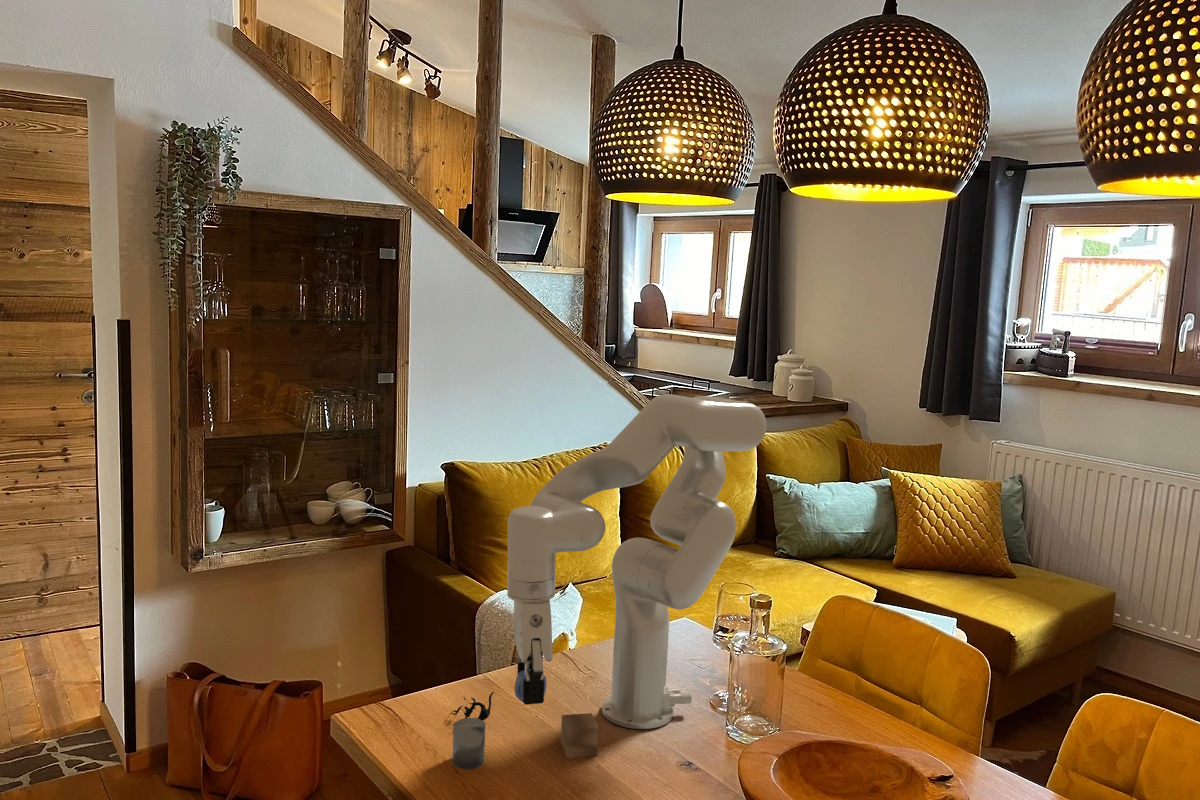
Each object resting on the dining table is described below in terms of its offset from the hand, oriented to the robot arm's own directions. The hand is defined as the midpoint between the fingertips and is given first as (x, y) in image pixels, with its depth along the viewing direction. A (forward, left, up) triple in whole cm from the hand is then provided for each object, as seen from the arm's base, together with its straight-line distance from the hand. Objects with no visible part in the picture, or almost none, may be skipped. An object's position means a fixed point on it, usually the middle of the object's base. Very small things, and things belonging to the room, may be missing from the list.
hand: (530, 693), depth 150 cm
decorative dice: (0, 0, -1) cm, 1 cm away
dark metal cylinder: (+10, +1, -10) cm, 14 cm away
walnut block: (-8, 0, -10) cm, 13 cm away
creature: (+9, -12, -10) cm, 18 cm away
